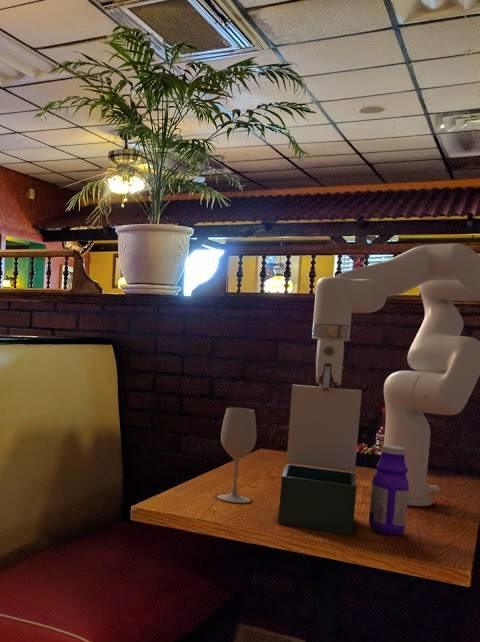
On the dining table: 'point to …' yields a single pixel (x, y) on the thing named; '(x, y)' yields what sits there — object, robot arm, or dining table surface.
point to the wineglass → (238, 442)
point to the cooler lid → (324, 427)
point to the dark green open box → (318, 499)
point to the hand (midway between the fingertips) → (323, 415)
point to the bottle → (389, 492)
